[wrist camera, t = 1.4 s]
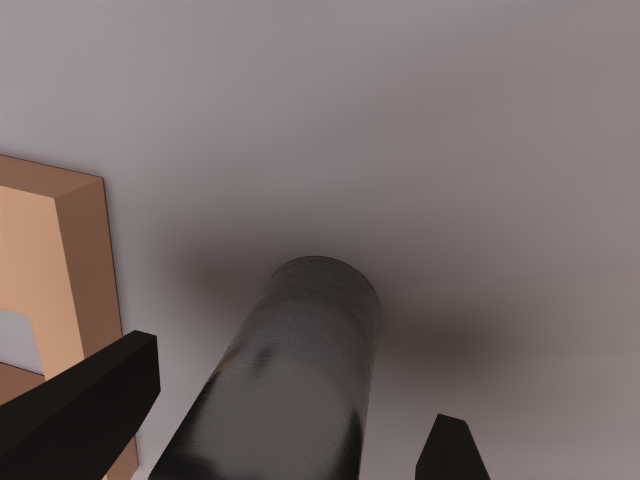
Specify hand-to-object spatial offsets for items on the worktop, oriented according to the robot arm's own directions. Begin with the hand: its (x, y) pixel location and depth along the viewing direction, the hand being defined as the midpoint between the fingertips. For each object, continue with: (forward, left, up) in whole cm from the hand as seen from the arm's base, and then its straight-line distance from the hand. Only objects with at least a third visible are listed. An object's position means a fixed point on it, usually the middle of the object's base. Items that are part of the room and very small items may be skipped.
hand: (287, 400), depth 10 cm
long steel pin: (0, 0, -4) cm, 4 cm away
